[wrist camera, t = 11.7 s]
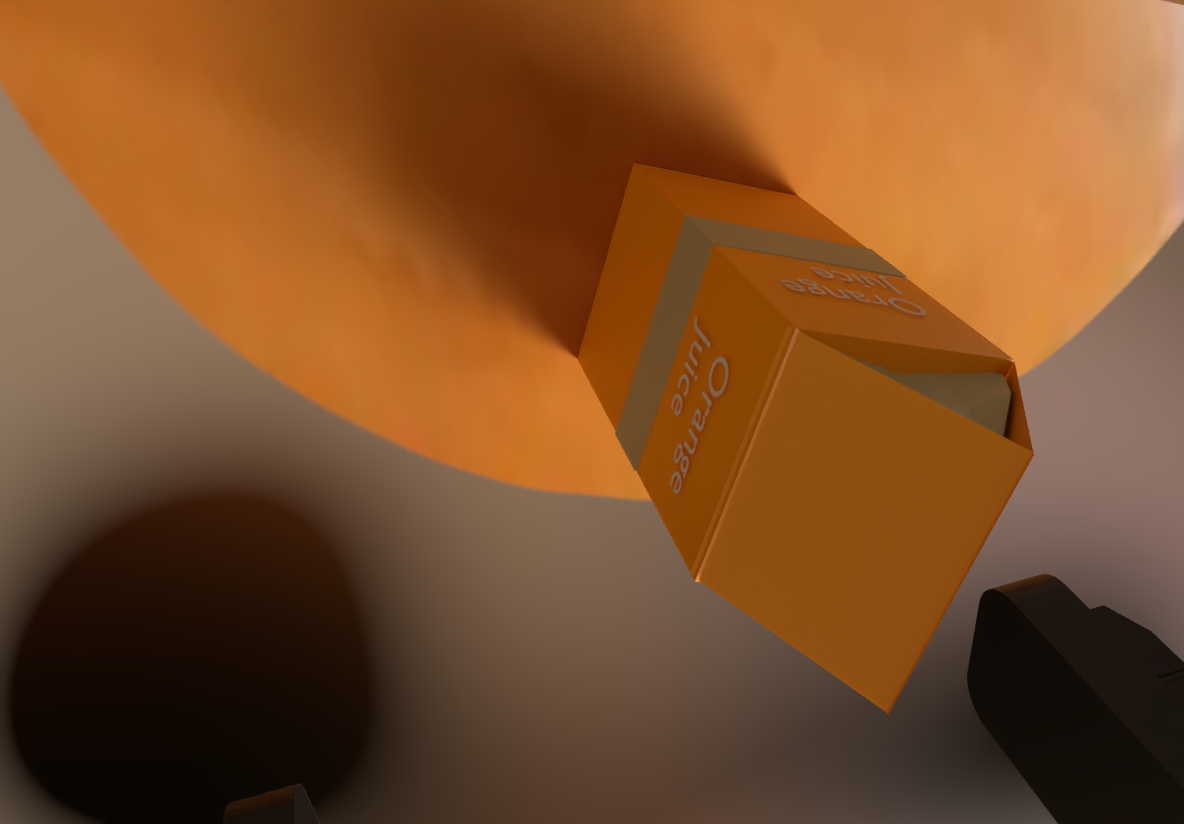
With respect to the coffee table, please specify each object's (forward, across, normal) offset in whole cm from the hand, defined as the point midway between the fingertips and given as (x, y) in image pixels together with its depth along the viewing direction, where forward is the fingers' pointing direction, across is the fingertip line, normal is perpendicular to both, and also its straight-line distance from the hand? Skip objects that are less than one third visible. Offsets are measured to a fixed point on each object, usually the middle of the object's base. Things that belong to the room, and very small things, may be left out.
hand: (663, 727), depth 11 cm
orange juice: (+28, -10, +9) cm, 31 cm away
